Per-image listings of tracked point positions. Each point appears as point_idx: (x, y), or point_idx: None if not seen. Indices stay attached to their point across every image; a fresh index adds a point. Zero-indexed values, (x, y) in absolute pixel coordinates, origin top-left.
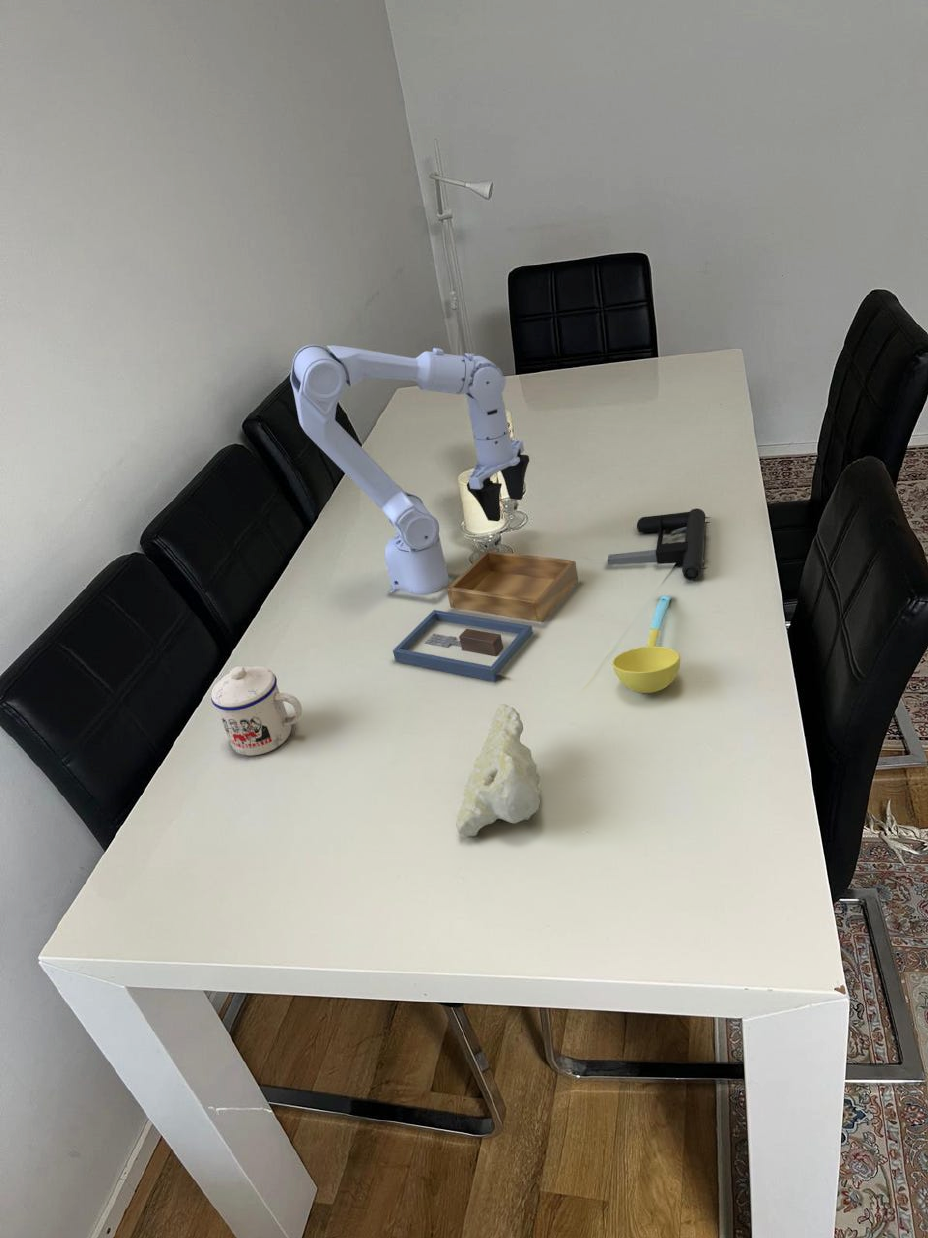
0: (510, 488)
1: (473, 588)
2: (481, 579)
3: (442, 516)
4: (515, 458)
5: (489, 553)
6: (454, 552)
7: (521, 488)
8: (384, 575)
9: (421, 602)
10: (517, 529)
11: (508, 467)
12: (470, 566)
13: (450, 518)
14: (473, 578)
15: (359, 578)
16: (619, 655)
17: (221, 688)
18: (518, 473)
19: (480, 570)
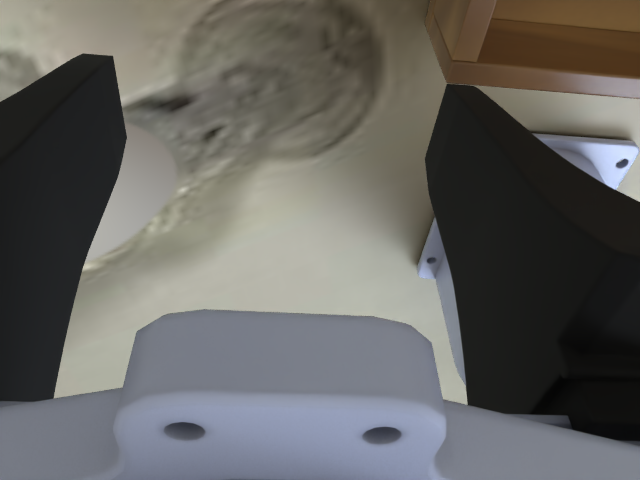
0: (97, 180)
1: (612, 30)
2: (544, 26)
3: (74, 328)
4: (225, 442)
5: (478, 52)
6: (280, 217)
7: (71, 89)
8: (434, 325)
9: (621, 182)
10: (30, 63)
11: (23, 330)
12: (609, 91)
13: (75, 307)
14: (614, 50)
15: (448, 362)
16: None
17: None
18: (12, 198)
19: (553, 46)
